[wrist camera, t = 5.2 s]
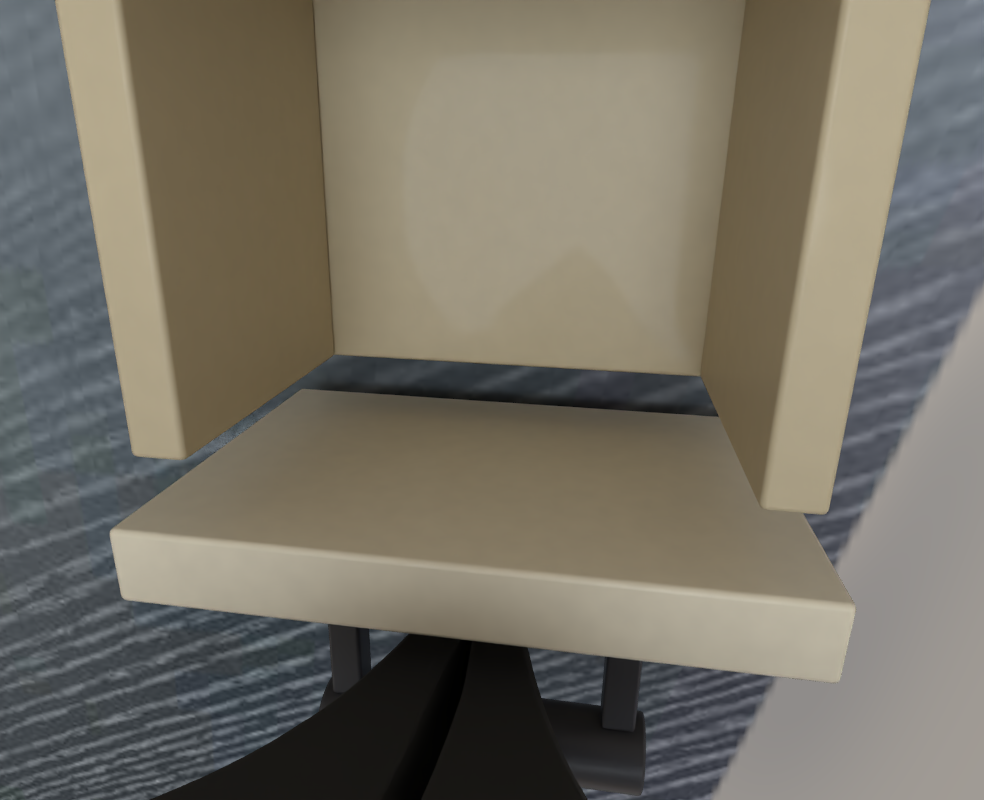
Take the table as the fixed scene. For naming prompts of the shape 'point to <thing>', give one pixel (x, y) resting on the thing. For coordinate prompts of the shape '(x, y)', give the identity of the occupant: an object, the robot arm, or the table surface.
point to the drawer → (497, 315)
